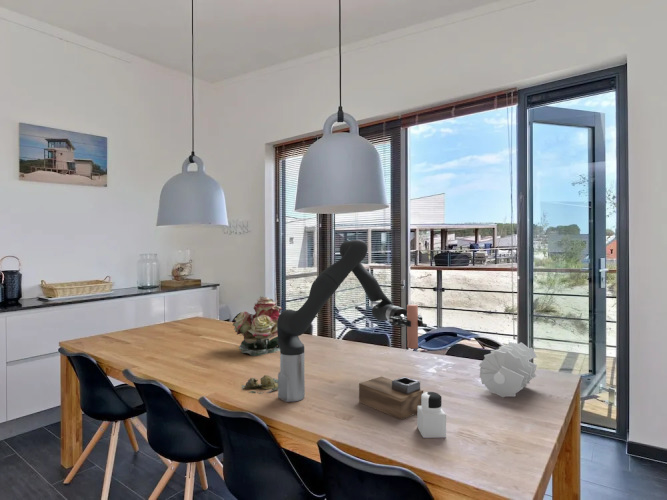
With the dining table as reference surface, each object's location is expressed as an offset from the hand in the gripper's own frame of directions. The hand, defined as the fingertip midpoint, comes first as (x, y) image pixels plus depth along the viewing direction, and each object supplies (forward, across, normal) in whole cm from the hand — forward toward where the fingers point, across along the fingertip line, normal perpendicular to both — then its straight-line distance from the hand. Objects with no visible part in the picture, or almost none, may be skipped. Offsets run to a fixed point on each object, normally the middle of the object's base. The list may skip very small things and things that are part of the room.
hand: (415, 323), depth 149 cm
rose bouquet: (-89, -52, +29) cm, 107 cm away
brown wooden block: (+3, -12, +29) cm, 31 cm away
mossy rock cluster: (-30, -54, +29) cm, 69 cm away
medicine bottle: (+25, -7, +29) cm, 39 cm away
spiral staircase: (0, +40, +29) cm, 50 cm away
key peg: (-3, 0, +10) cm, 10 cm away
